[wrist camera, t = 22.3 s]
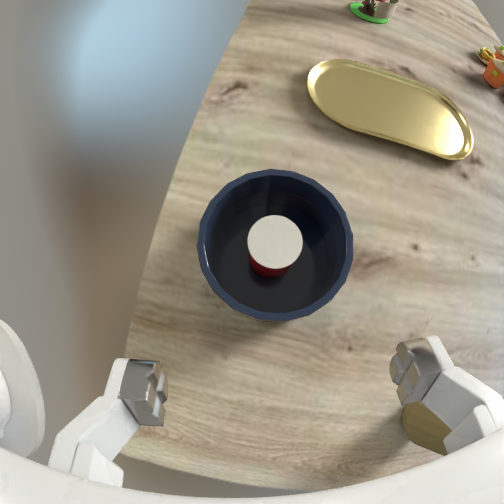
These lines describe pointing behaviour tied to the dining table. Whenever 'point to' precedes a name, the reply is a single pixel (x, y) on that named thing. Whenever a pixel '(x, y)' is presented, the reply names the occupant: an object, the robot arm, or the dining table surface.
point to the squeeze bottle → (425, 427)
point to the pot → (303, 268)
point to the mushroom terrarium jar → (374, 10)
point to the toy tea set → (493, 65)
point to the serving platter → (390, 107)
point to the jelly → (273, 246)
